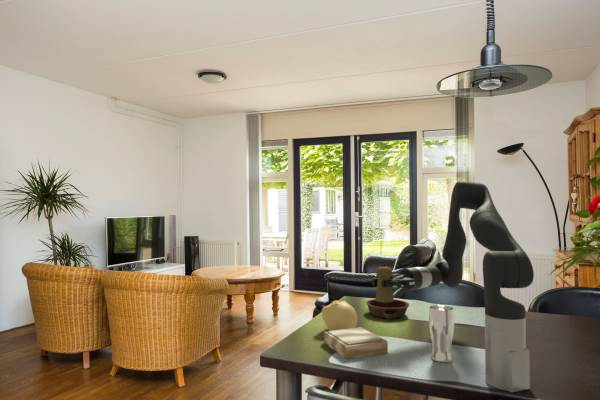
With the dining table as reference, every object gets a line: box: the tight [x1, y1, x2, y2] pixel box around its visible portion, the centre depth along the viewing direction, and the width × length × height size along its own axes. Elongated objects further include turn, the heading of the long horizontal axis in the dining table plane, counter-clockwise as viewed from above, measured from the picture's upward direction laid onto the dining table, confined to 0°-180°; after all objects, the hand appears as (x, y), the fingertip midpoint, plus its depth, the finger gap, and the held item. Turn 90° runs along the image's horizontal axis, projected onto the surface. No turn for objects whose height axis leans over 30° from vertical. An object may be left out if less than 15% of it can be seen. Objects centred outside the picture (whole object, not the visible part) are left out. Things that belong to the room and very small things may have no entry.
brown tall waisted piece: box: [375, 266, 395, 302], centre depth 140 cm, size 6×6×11 cm
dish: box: [365, 298, 410, 320], centre depth 175 cm, size 18×22×5 cm
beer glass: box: [428, 304, 455, 363], centre depth 123 cm, size 7×7×15 cm
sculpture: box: [321, 300, 358, 331], centre depth 151 cm, size 12×12×11 cm
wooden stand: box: [323, 326, 389, 360], centre depth 133 cm, size 16×14×4 cm
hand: (378, 283), depth 138 cm, fingers closed on brown tall waisted piece, 4 cm apart
